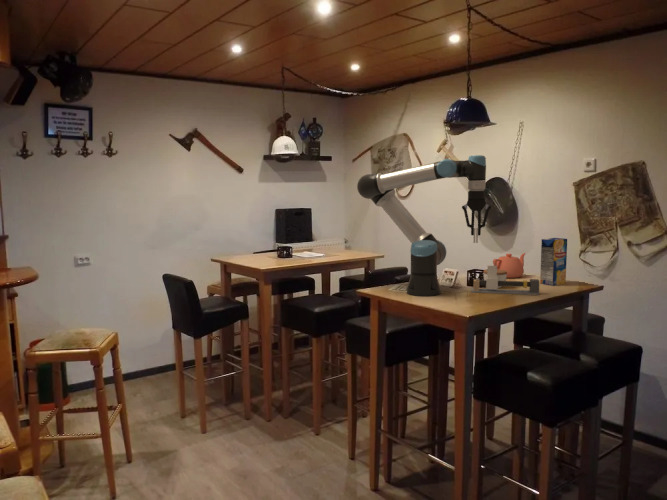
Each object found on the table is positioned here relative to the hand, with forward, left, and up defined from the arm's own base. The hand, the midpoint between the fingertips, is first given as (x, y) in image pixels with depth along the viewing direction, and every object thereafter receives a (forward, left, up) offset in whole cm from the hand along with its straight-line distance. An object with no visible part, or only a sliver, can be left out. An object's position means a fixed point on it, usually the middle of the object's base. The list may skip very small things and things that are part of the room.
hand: (475, 242), depth 240 cm
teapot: (+18, +45, -23) cm, 54 cm away
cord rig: (+13, 0, -22) cm, 26 cm away
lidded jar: (+9, +13, -23) cm, 28 cm away
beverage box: (+37, +27, -23) cm, 51 cm away
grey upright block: (+8, 0, -21) cm, 22 cm away
